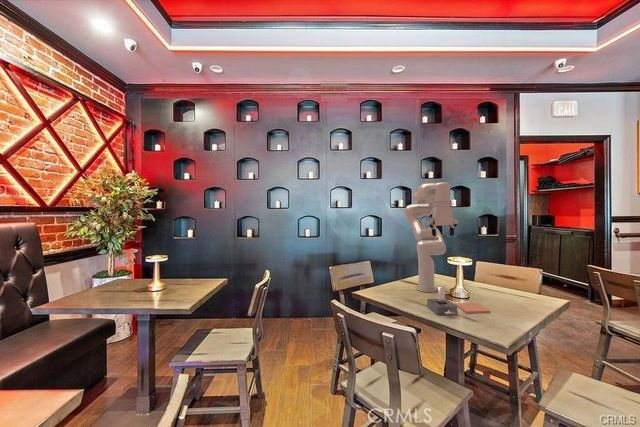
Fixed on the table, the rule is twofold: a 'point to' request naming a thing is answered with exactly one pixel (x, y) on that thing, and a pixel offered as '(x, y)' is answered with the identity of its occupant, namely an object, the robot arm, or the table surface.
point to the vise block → (442, 307)
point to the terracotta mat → (472, 308)
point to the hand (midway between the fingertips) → (442, 235)
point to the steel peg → (441, 295)
